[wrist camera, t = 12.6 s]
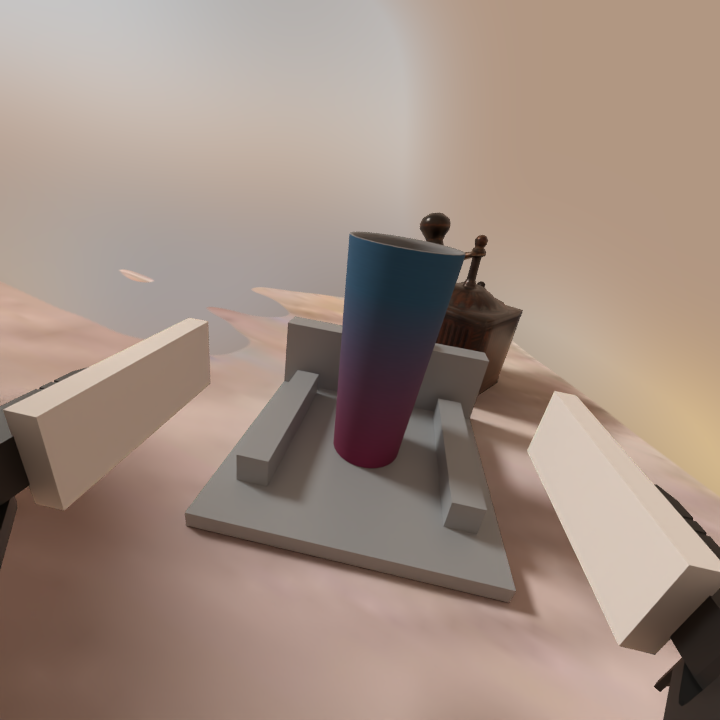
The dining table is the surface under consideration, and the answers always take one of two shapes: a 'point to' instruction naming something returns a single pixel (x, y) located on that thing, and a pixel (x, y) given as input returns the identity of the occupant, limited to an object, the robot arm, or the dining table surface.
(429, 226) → the manual coffee grinder
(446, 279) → the cup
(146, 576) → the dining table surface
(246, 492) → the dock
